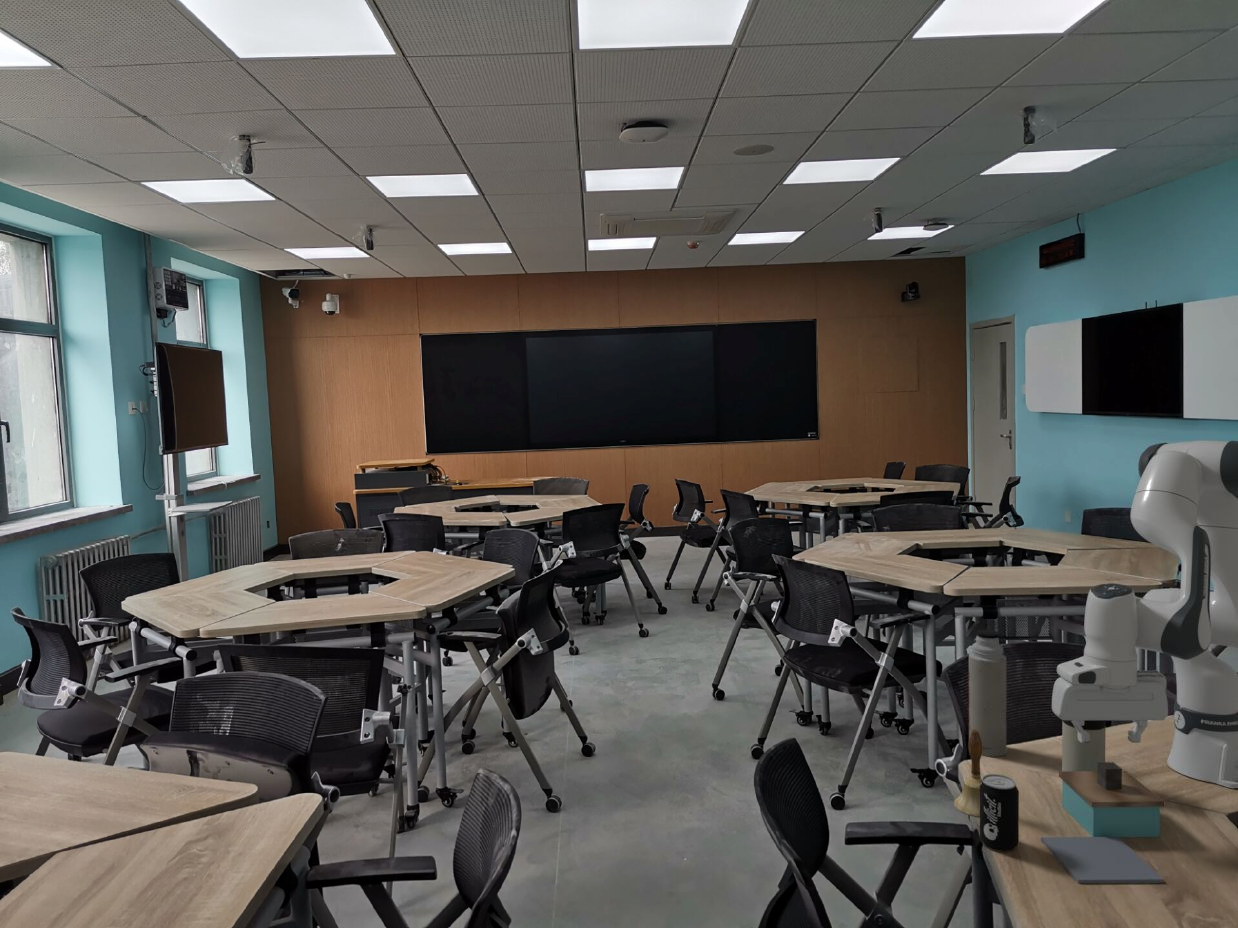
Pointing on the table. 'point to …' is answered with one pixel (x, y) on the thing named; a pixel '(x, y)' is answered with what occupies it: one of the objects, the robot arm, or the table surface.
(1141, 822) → the dish
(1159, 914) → the table surface
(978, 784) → the hand bell
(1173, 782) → the table surface
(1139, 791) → the lid
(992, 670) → the thermos bottle
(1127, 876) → the tray
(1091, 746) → the travel mug
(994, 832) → the beverage can
